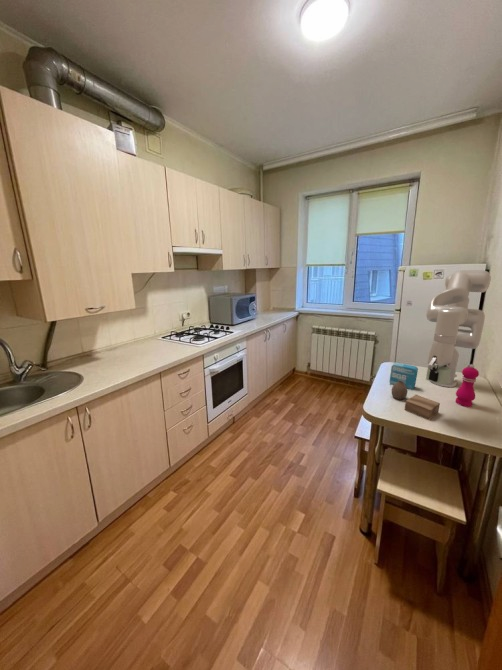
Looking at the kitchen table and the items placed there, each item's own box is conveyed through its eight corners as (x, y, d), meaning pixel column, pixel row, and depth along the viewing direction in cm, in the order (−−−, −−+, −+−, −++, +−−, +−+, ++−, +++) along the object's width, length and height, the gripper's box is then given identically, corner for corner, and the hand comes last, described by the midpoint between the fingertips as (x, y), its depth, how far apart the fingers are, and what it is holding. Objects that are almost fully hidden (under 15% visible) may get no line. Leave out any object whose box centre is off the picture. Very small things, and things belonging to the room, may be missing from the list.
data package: (389, 384, 147) (391, 364, 144) (390, 381, 150) (393, 361, 147) (413, 390, 140) (417, 369, 137) (414, 387, 143) (418, 366, 140)
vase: (408, 401, 128) (411, 385, 126) (393, 400, 129) (395, 384, 127) (403, 395, 135) (406, 379, 132) (389, 393, 136) (391, 378, 134)
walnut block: (414, 404, 126) (415, 394, 125) (438, 413, 118) (440, 403, 117) (404, 410, 121) (405, 400, 120) (428, 420, 113) (430, 410, 112)
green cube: (433, 376, 117) (435, 364, 115) (448, 381, 112) (451, 368, 110) (425, 379, 114) (428, 366, 112) (440, 384, 109) (443, 371, 107)
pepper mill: (469, 401, 128) (478, 362, 123) (476, 408, 122) (485, 368, 116) (451, 398, 130) (459, 361, 125) (457, 405, 124) (466, 366, 119)
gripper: (446, 334, 115) (438, 372, 120) (423, 339, 107) (416, 379, 112) (466, 338, 109) (457, 378, 113) (443, 344, 101) (435, 386, 106)
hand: (437, 378), depth 113 cm, fingers closed on green cube, 6 cm apart
